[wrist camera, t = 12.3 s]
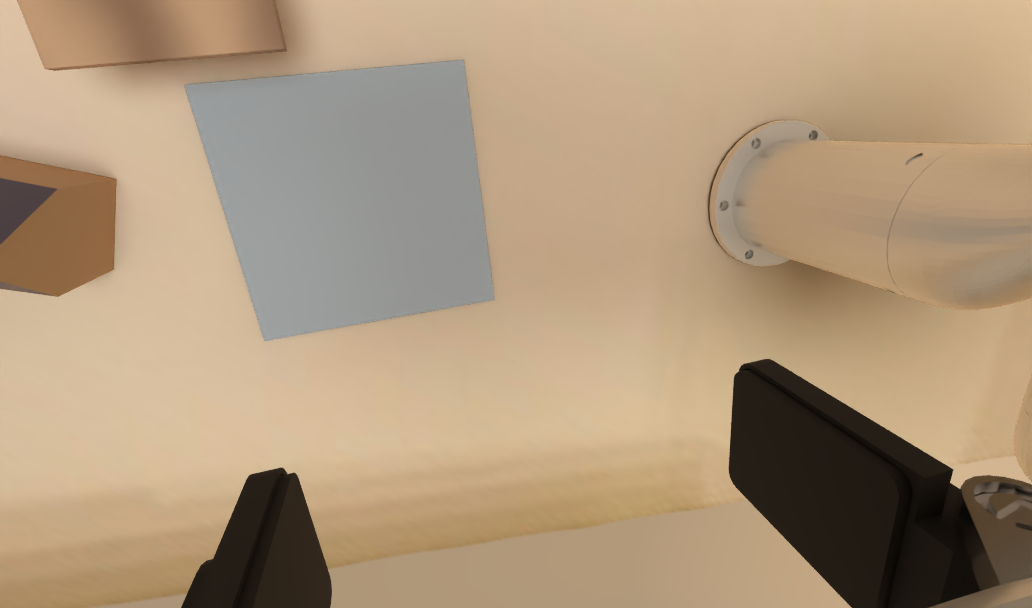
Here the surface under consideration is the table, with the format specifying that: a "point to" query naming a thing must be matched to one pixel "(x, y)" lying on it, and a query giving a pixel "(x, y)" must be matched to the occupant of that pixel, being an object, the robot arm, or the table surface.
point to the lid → (149, 30)
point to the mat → (348, 193)
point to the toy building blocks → (54, 227)
